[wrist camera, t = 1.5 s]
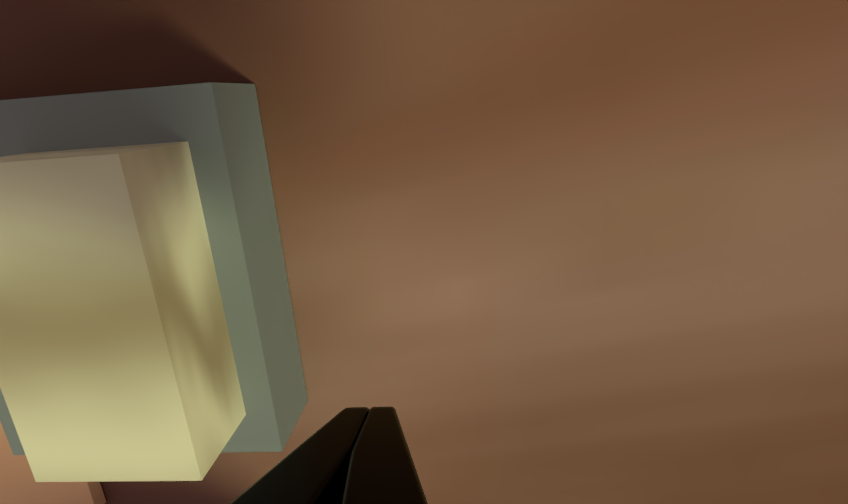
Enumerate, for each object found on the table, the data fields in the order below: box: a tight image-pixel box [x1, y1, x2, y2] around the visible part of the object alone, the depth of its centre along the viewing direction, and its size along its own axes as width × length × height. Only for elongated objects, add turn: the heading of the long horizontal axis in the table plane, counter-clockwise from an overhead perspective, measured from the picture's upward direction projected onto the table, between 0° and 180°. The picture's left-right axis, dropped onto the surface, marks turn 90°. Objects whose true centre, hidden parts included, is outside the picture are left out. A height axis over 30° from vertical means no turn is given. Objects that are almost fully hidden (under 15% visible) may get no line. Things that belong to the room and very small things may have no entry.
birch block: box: [0, 141, 246, 482], centre depth 14 cm, size 9×5×3 cm, turn 4°
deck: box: [0, 82, 308, 455], centre depth 17 cm, size 12×10×3 cm
